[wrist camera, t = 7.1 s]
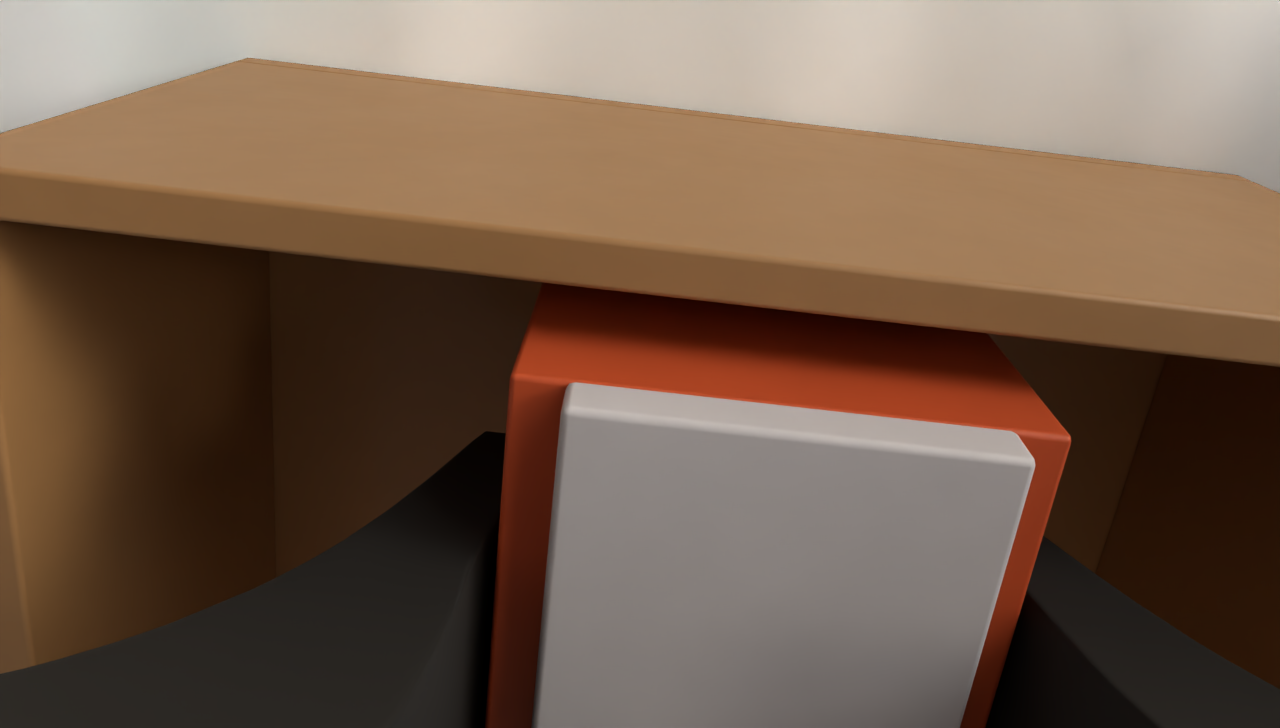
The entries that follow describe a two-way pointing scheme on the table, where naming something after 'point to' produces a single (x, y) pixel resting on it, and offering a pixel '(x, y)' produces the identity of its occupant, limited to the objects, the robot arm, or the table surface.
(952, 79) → the table surface
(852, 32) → the table surface
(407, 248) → the box
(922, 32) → the table surface
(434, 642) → the robot arm
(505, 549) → the block
